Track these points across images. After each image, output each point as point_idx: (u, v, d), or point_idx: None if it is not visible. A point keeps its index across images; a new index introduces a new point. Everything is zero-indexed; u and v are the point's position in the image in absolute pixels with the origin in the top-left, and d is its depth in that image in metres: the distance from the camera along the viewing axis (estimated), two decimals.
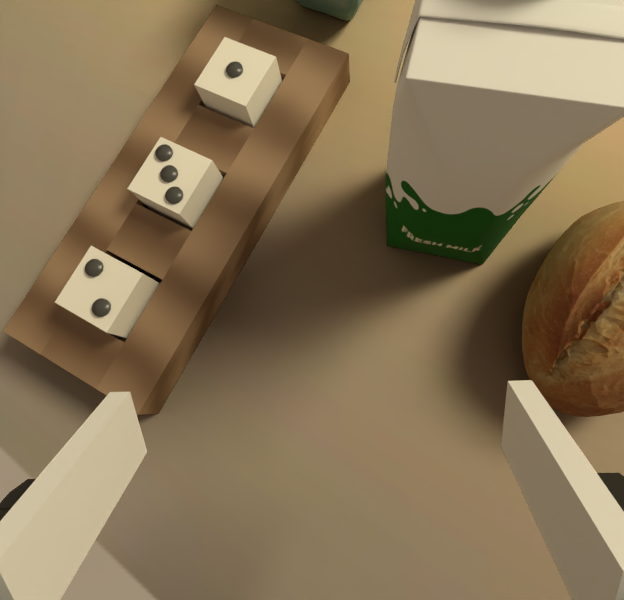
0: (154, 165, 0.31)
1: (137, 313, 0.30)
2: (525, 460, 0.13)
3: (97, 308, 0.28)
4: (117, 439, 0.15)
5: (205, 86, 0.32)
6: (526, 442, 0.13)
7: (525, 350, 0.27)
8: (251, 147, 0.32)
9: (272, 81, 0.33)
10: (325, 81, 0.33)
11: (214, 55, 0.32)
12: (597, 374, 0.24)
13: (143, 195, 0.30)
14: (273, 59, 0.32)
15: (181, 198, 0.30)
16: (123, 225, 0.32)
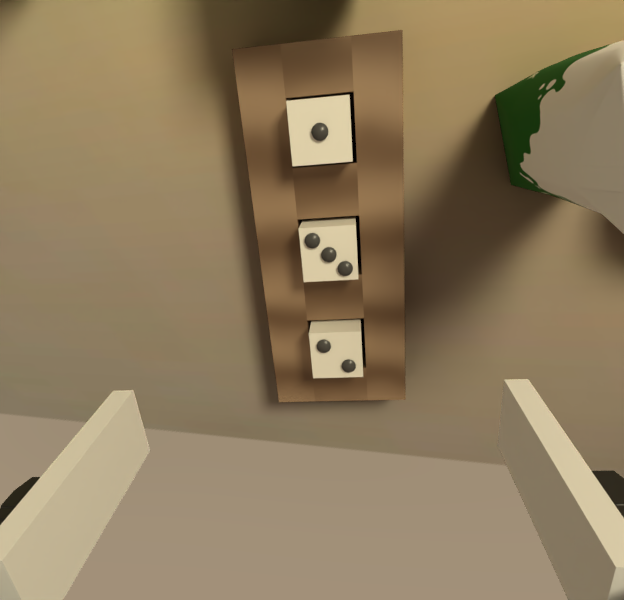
0: (311, 253, 0.35)
1: None
2: (521, 459, 0.13)
3: (347, 368, 0.38)
4: (121, 437, 0.15)
5: (303, 162, 0.32)
6: (522, 440, 0.13)
7: None
8: (365, 181, 0.34)
9: None
10: (395, 76, 0.31)
11: (290, 126, 0.31)
12: None
13: (320, 280, 0.35)
14: (348, 99, 0.30)
15: (352, 267, 0.35)
16: (306, 298, 0.38)
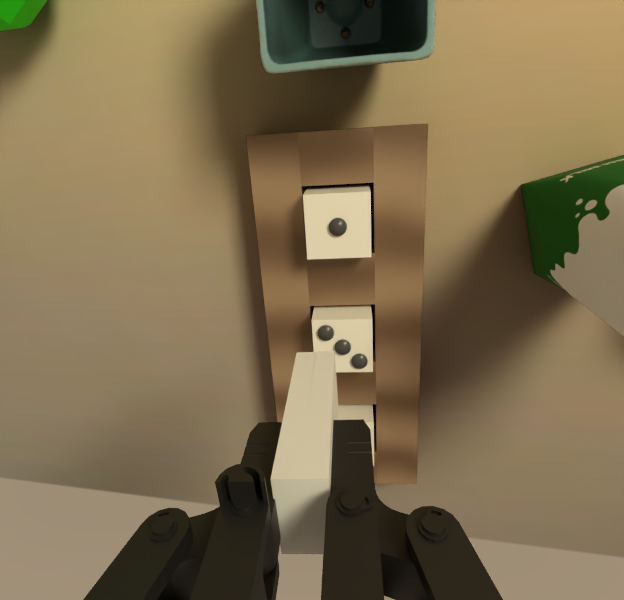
0: (324, 345, 0.33)
1: None
2: None
3: None
4: None
5: (319, 256, 0.30)
6: None
7: None
8: (383, 271, 0.32)
9: None
10: (418, 169, 0.30)
11: (306, 220, 0.30)
12: None
13: None
14: (369, 195, 0.29)
15: (367, 360, 0.33)
16: None
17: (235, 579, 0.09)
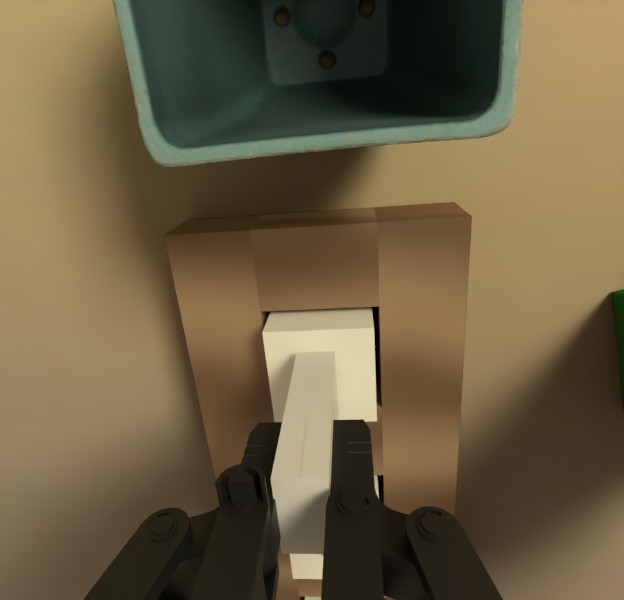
0: None
1: None
2: None
3: None
4: None
5: None
6: None
7: None
8: (396, 432, 0.21)
9: None
10: (454, 287, 0.18)
11: (270, 368, 0.18)
12: None
13: (319, 578, 0.22)
14: (372, 334, 0.17)
15: None
16: None
17: (235, 579, 0.09)
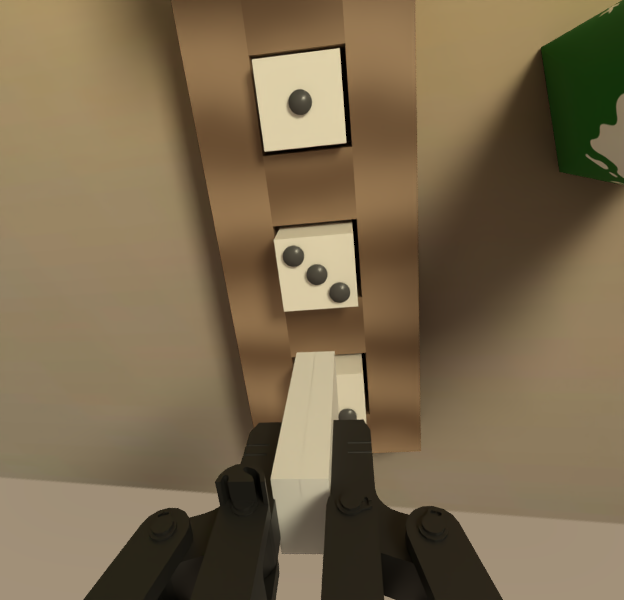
0: (292, 273, 0.25)
1: None
2: None
3: None
4: None
5: (279, 145, 0.24)
6: None
7: None
8: (365, 172, 0.25)
9: None
10: (404, 19, 0.22)
11: (259, 95, 0.23)
12: None
13: (306, 308, 0.26)
14: (338, 54, 0.22)
15: (349, 290, 0.25)
16: (289, 329, 0.29)
17: (235, 579, 0.09)
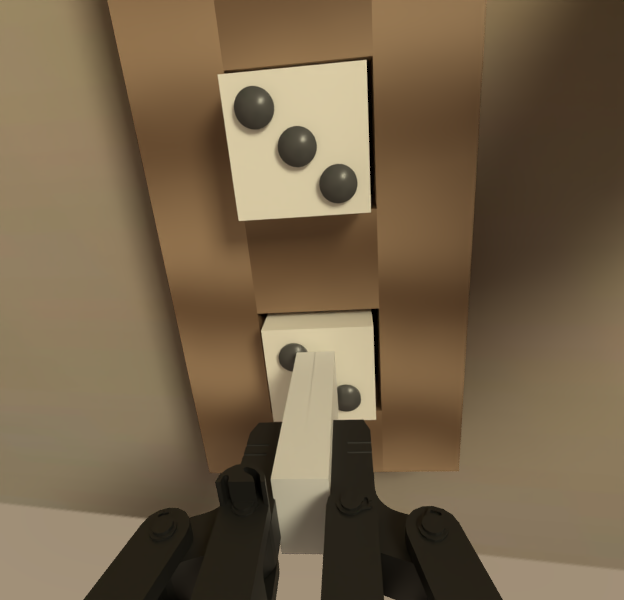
0: (253, 146, 0.14)
1: None
2: None
3: (343, 402, 0.18)
4: None
5: None
6: None
7: None
8: None
9: None
10: None
11: None
12: None
13: (278, 216, 0.15)
14: None
15: (357, 180, 0.14)
16: (253, 264, 0.17)
17: (235, 578, 0.09)
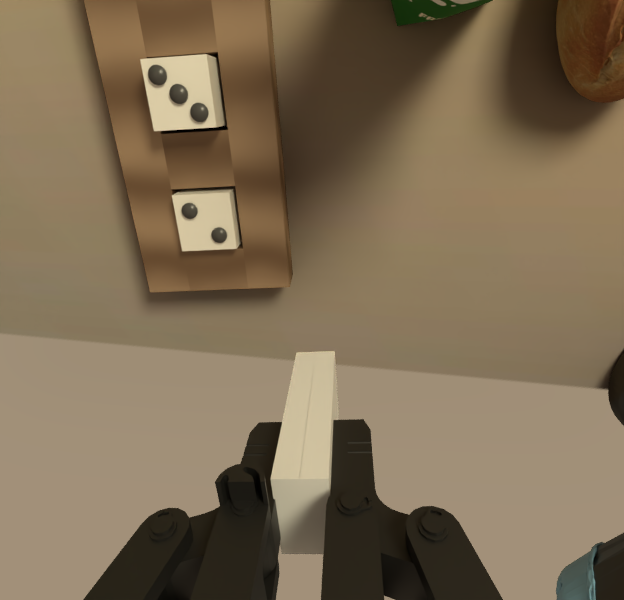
0: (158, 93, 0.29)
1: (238, 219, 0.36)
2: None
3: (217, 237, 0.34)
4: None
5: None
6: None
7: (567, 67, 0.30)
8: (221, 6, 0.29)
9: None
10: None
11: None
12: None
13: (172, 128, 0.30)
14: None
15: (207, 111, 0.30)
16: (167, 160, 0.33)
17: (235, 579, 0.09)
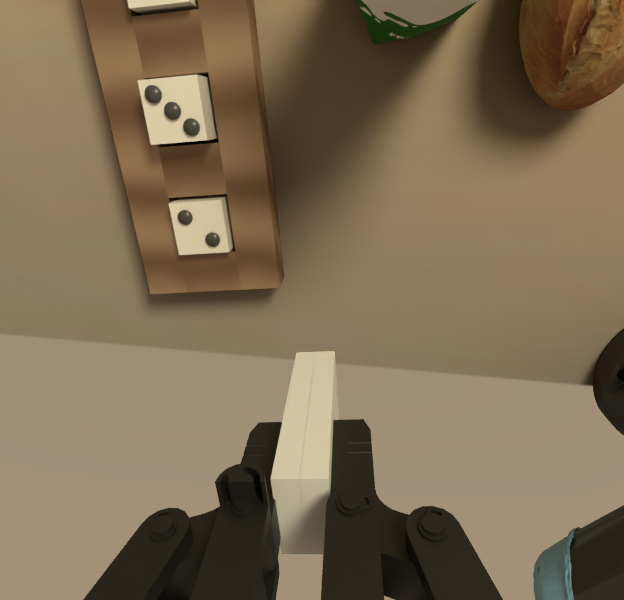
0: (154, 110, 0.32)
1: (231, 225, 0.39)
2: None
3: (211, 241, 0.37)
4: None
5: (139, 3, 0.31)
6: None
7: (531, 78, 0.32)
8: (210, 31, 0.32)
9: None
10: None
11: None
12: (596, 75, 0.29)
13: (167, 142, 0.33)
14: None
15: (199, 125, 0.33)
16: (164, 171, 0.36)
17: (234, 578, 0.09)
